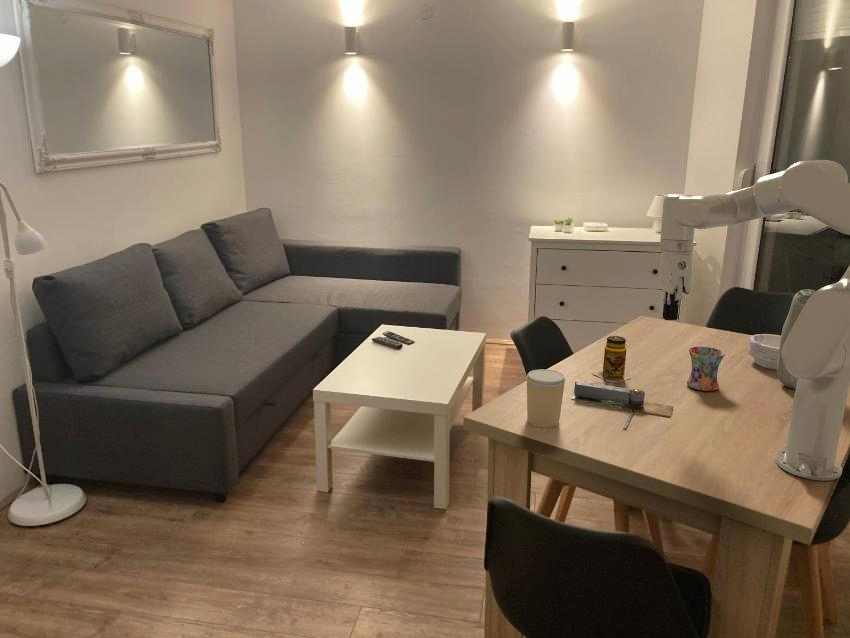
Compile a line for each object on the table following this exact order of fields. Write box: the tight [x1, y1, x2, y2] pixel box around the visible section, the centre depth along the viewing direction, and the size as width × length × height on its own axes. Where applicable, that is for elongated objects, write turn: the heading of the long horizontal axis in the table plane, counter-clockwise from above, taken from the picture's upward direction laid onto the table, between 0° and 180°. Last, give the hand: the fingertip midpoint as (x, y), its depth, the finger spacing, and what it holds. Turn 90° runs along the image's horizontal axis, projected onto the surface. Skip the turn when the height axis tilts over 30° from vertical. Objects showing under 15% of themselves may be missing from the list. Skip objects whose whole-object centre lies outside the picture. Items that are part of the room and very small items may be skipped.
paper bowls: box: [747, 333, 781, 371], centre depth 214 cm, size 15×15×8 cm
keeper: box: [570, 378, 623, 409], centre depth 187 cm, size 8×14×3 cm, turn 65°
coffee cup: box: [526, 368, 566, 428], centre depth 171 cm, size 9×9×12 cm
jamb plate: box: [620, 400, 674, 430], centre depth 175 cm, size 20×12×1 cm, turn 155°
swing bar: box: [574, 381, 646, 406], centre depth 184 cm, size 18×4×4 cm, turn 66°
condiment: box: [592, 335, 630, 384], centre depth 202 cm, size 7×8×12 cm
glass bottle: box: [776, 288, 817, 390], centre depth 194 cm, size 10×10×28 cm
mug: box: [686, 346, 726, 392], centre depth 196 cm, size 12×9×11 cm
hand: (669, 319), depth 174 cm, fingers closed
